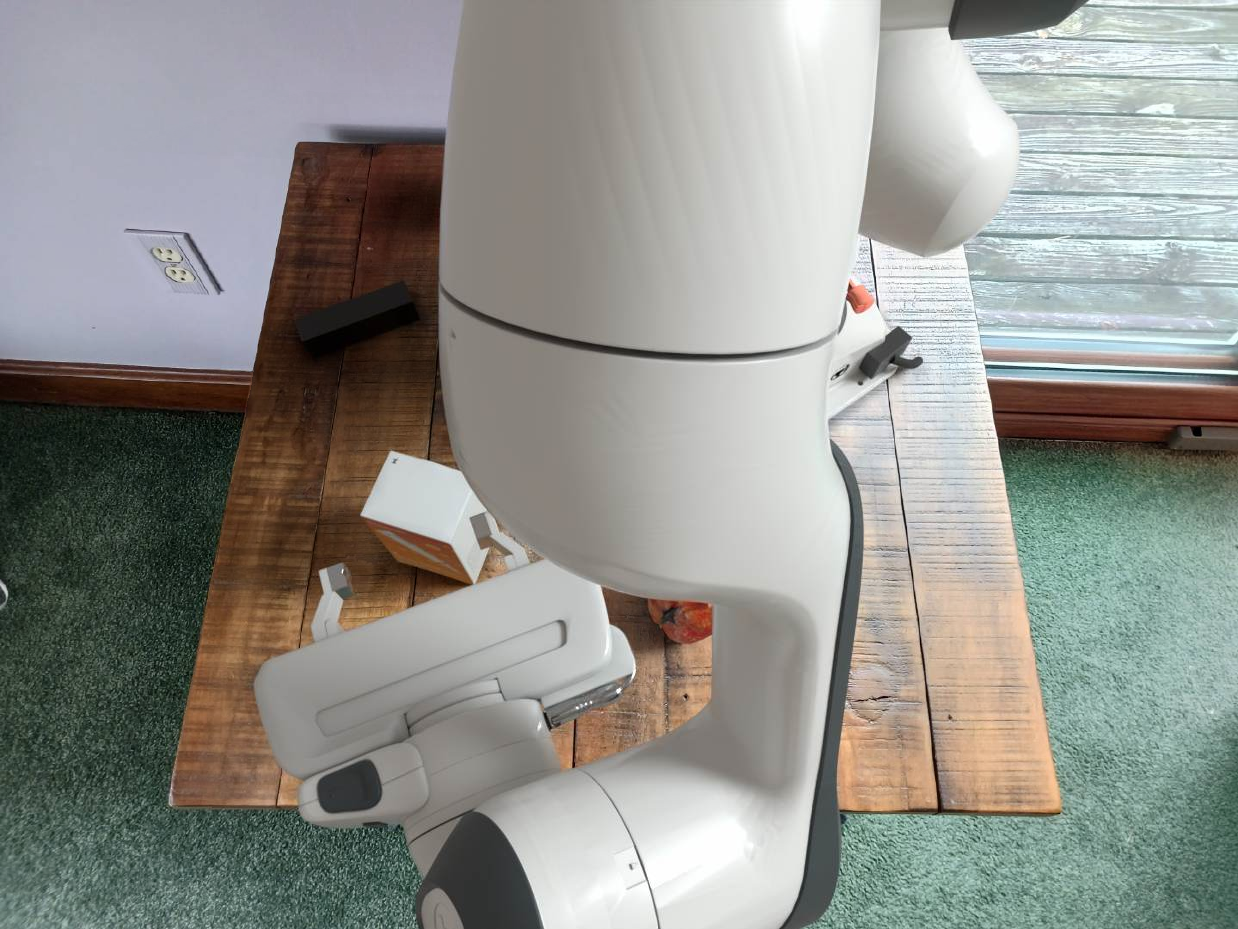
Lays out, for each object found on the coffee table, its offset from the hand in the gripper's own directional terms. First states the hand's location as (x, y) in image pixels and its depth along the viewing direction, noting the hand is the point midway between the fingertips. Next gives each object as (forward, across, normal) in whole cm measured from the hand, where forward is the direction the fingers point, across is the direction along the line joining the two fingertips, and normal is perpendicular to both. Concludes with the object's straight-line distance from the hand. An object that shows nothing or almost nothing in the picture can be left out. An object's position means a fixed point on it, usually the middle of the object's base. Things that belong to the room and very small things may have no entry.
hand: (408, 542), depth 50 cm
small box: (+10, -1, +26) cm, 28 cm away
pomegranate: (-4, -20, +26) cm, 33 cm away
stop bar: (+37, +1, +24) cm, 44 cm away
